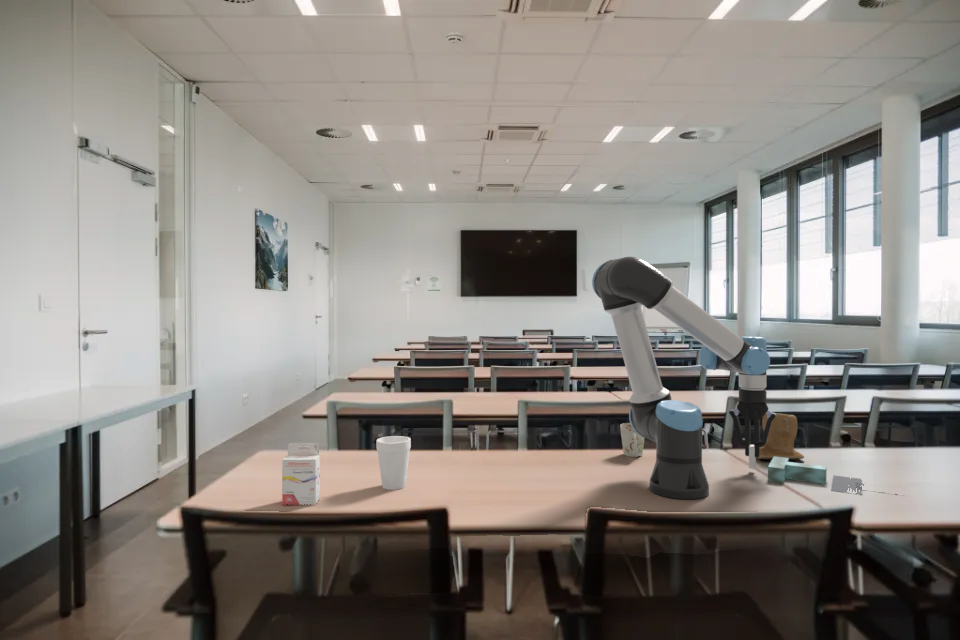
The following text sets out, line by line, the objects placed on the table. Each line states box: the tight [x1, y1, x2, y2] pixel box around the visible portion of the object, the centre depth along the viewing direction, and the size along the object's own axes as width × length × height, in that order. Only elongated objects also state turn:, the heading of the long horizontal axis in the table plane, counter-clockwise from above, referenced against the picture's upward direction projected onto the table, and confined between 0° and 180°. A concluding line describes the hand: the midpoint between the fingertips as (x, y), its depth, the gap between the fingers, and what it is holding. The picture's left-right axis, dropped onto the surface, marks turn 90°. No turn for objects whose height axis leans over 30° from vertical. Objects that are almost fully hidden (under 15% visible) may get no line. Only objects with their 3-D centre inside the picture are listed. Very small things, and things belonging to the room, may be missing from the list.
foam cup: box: [375, 435, 412, 491], centre depth 165 cm, size 10×9×13 cm
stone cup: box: [756, 412, 805, 461], centre depth 193 cm, size 15×12×15 cm
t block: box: [767, 456, 828, 485], centre depth 171 cm, size 14×14×4 cm
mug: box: [619, 422, 645, 458], centre depth 196 cm, size 8×13×10 cm, turn 174°
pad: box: [830, 474, 865, 496], centre depth 162 cm, size 17×17×1 cm
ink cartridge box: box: [281, 442, 321, 506], centre depth 151 cm, size 9×5×15 cm, turn 92°
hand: (752, 467), depth 177 cm, fingers closed
